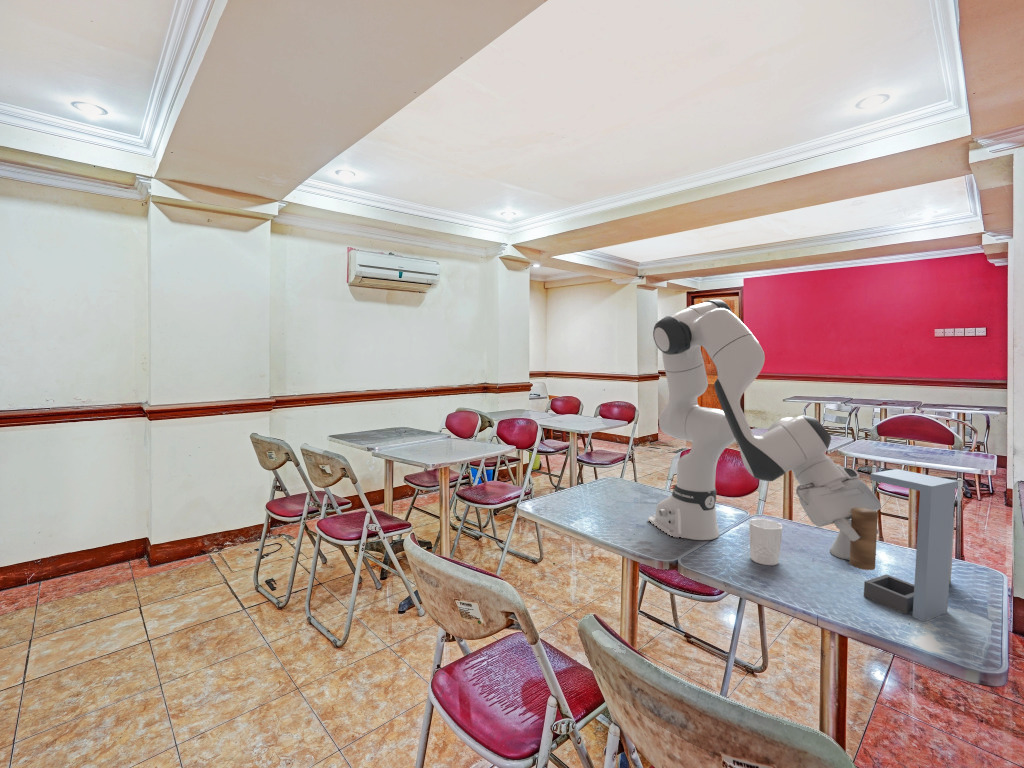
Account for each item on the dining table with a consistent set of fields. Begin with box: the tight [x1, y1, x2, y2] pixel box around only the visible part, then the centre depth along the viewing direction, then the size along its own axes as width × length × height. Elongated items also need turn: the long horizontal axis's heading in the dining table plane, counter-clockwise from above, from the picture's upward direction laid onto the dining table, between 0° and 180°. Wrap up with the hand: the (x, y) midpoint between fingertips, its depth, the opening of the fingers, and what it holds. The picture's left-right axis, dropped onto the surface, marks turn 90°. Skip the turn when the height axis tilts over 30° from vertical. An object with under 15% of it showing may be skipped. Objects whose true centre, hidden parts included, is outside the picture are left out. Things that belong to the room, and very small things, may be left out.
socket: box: [863, 573, 915, 615], centre depth 109 cm, size 8×8×4 cm
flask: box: [829, 519, 851, 561], centre depth 133 cm, size 7×7×10 cm
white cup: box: [748, 518, 784, 566], centre depth 130 cm, size 8×8×10 cm
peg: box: [848, 507, 879, 571], centre depth 104 cm, size 4×4×12 cm
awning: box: [870, 468, 959, 622], centre depth 107 cm, size 12×10×28 cm
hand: (866, 537), depth 104 cm, fingers closed on peg, 4 cm apart
